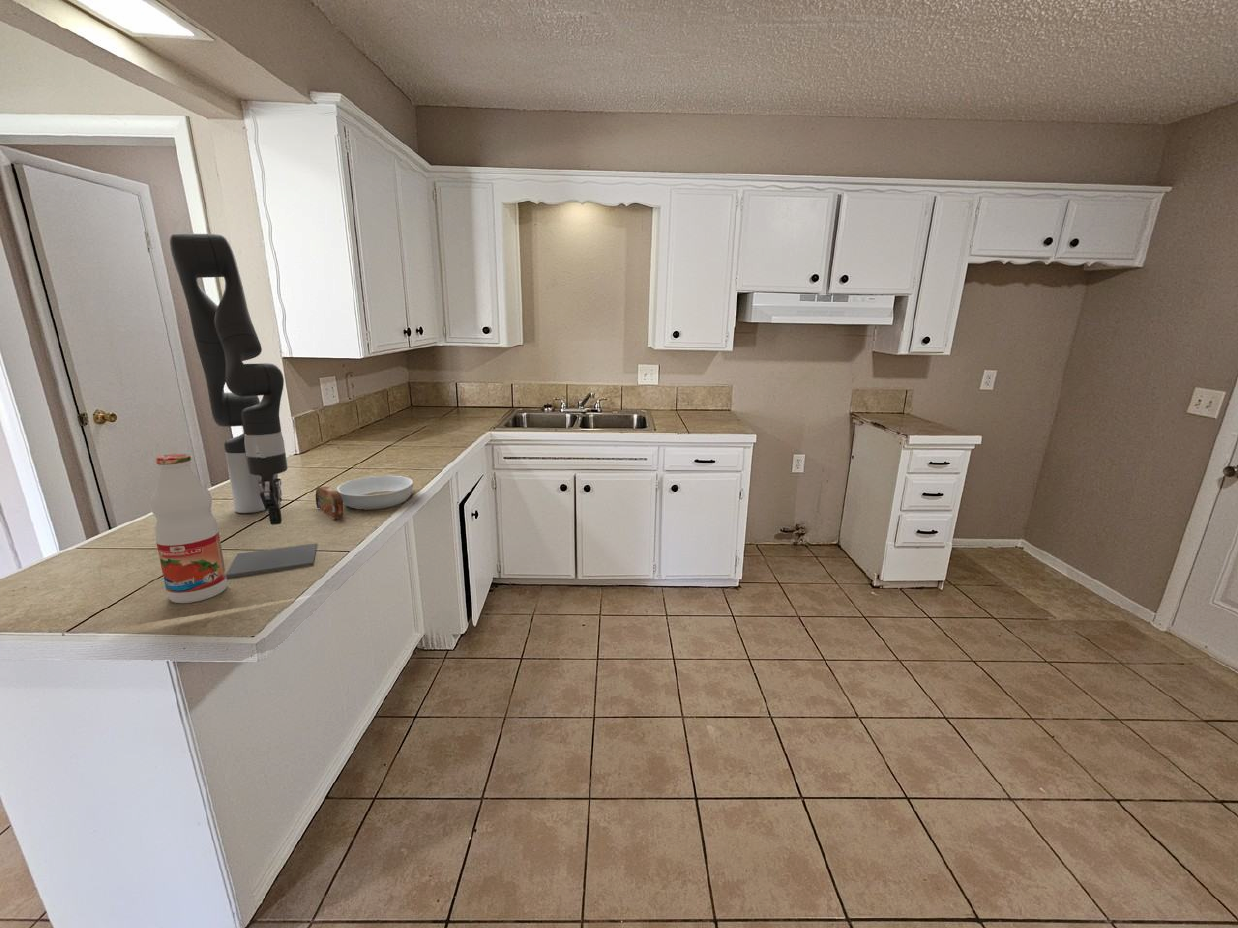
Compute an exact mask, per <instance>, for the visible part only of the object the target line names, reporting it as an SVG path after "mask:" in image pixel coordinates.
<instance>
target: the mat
mask: <svg viewBox="0 0 1238 928" xmlns="http://www.w3.org/2000/svg"><path fill="white" fill-rule="evenodd" d="M317 548H318V543H317V542H316V543H310V544H309V543H308V544H302V545H295V546H294V545H293V546H286V547H278V548H270V549H263V550H254V551H248V552H241V553H237V554H236V556H235V558H234V559H233V561H232V563H231V565H230V566H229V569H228V570H227V571H226V577H227V579H231V578H239V577H247V576H253V575H259V574H266V573H273V572H279V571H281V572H282V571H286V570H287V571H288V570H293V568H294V569H298V567H300V568H304V567H303V566H306V567H309V566H308V565H311V566H314V564H315V559H316V553H317Z"/></svg>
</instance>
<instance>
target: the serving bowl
mask: <svg viewBox="0 0 1238 928" xmlns="http://www.w3.org/2000/svg"><path fill="white" fill-rule="evenodd" d="M413 489H414V481H413V479H412V478H410V477H406V476H402V475H401V476H400V475H388V474H387V475H373V476H364V477H359V478H354V479H351V480H348V481H345V482H343V483H341V484H339V485H338V486H337V488H336V491H338V492H339V493H340V494H341V496H342V499H343V505H345V506H347V507H349V508H351V509H354V508H355V509H356V510H361V509H364V511H366V510H379V509H385V508H391V507H395V506H397V505H399V504H402V503H404V502H406V501H407V500H408V499H409V498H410V497H411V495H412V493H413ZM380 492H387V493H380ZM373 493H380V494H373ZM368 494H369V495H368Z"/></svg>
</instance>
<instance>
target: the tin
mask: <svg viewBox="0 0 1238 928" xmlns="http://www.w3.org/2000/svg"><path fill="white" fill-rule="evenodd" d="M315 503H316V509H317V508H320V509H321V510H320V509H319V510H320V511H322V512H323V511H324V512H323V513H325V514H326V513H327V514H328V516H329V517H330V516H331V517H330V518H331V519H332V520H333V521H335V519H336V520H340V519H343V518H344V503H343V499H342V496H341V494H340V493H339V492H338V491H337V489H336V490H335V489H334V488H332V487H330V486H321V487H320V486H319V487H317V488H316V490H315ZM327 514H326V515H327ZM342 517H343V518H342ZM333 518H334V519H333ZM339 518H340V519H339Z"/></svg>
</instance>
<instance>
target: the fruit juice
mask: <svg viewBox="0 0 1238 928" xmlns="http://www.w3.org/2000/svg"><path fill="white" fill-rule="evenodd" d="M155 460H156V465H157V467H158V468H159V475H158V480H157V482H156V483H157V484H156V487H155V489H154V491H153V493H152V495H151V497H150V500H149V507H150V508H149V509H150V511H151V513H152V514H153V517H154V518H155V520H156V521H155V525H154V538H155V542H156V543H155V544H156V547H157V548H156V549H157V552H158V556H159V562H160V563H159V564H160V566H161V567H160V568H161V573H162V576H163V577H162V578H163V581H164V587H165V591H166V595H167V598H168V600H169V601H170V602H172V603H175V604H190V603H191V604H192V603H197V602H201V601H205V600H209V599H211V598H214V597H216V596H218V595H220V594H221V593H223V592H224V591H225V590H226V589H227V587H228V578H227V577H226V573H227V571H226V566H225V561H224V555H223V549H222V543H221V536H220V531H219V526H218V522H217V519H216V517H215V515H214V514H213V513H212V505H213V497H212V494H211V491H210V490H209V489H208V488H206V486H205V485H203V484H202V483H201V482H200V480H199V478H198V477H197V476H196V474H195V472H194V471H193V469H192V467H191V465H190V464H191V463H192V458H191V455H190V454H189V453H171V454H169V453H168V454H163V455H159V456H157V457H156V459H155Z"/></svg>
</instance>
